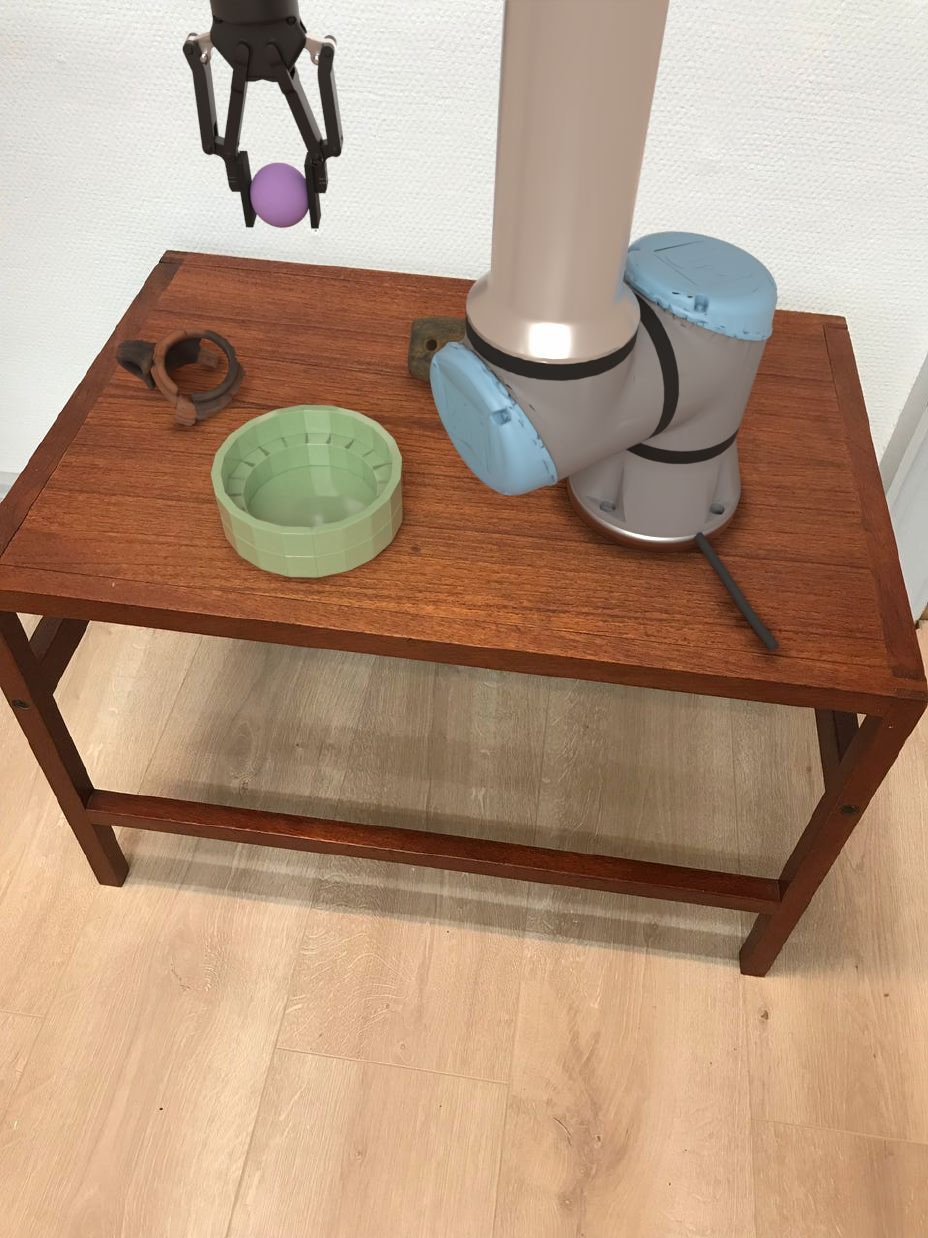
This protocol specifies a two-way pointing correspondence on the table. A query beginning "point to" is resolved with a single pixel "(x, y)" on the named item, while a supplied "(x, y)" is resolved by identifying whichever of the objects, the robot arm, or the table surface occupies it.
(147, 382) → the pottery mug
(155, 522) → the table surface
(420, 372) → the stone weight
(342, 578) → the table surface
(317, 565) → the bowl
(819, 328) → the table surface
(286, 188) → the ball
